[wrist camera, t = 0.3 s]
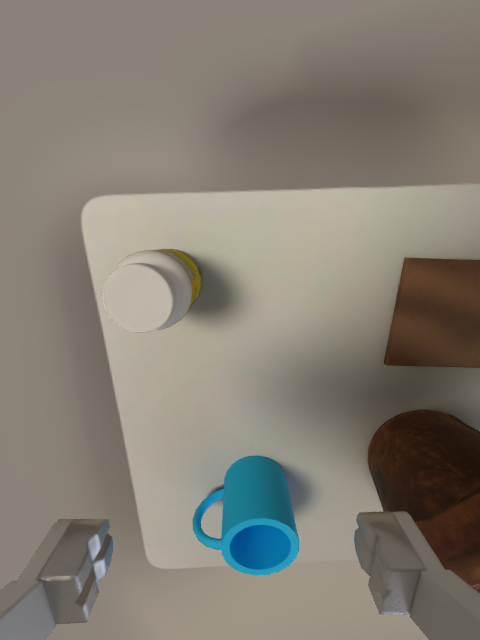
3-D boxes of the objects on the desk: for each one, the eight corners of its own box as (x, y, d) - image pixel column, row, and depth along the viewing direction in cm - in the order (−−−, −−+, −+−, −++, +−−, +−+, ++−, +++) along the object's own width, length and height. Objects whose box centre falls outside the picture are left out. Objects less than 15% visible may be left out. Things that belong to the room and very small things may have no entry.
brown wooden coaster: (404, 257, 28) (407, 257, 27) (535, 262, 28) (541, 262, 28) (383, 363, 31) (386, 365, 31) (501, 366, 32) (506, 368, 31)
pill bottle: (173, 318, 30) (139, 361, 19) (131, 276, 28) (69, 296, 18) (215, 281, 28) (203, 304, 18) (174, 235, 27) (134, 230, 17)
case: (346, 385, 32) (474, 551, 15) (510, 390, 33) (818, 556, 15) (327, 501, 37) (406, 727, 20) (469, 504, 37) (667, 727, 20)
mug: (279, 450, 35) (292, 511, 27) (290, 498, 37) (305, 568, 29) (189, 468, 35) (175, 533, 27) (205, 514, 37) (197, 586, 30)
